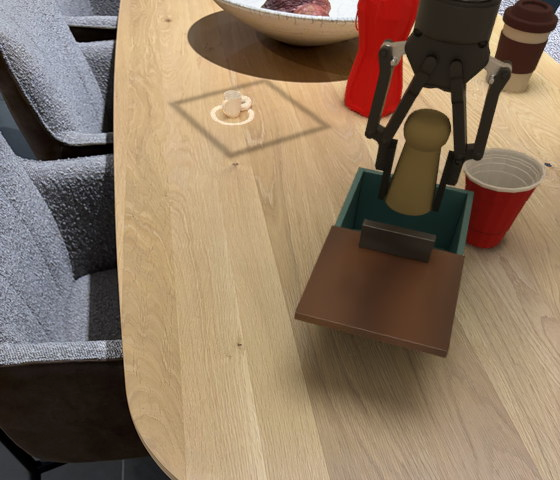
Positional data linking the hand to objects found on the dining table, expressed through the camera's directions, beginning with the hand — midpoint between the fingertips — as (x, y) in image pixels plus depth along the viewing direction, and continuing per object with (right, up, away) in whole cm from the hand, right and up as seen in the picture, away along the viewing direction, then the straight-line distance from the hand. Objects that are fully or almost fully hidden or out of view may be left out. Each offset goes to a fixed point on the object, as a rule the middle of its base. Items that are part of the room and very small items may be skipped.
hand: (409, 199), depth 74 cm
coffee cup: (+30, +37, +49) cm, 68 cm away
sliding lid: (-5, -12, -9) cm, 16 cm away
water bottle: (+1, +29, +40) cm, 49 cm away
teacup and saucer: (-21, +24, +35) cm, 47 cm away
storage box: (-1, -8, +9) cm, 12 cm away
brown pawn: (0, 0, 0) cm, 0 cm away
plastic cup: (+13, -2, +15) cm, 20 cm away
